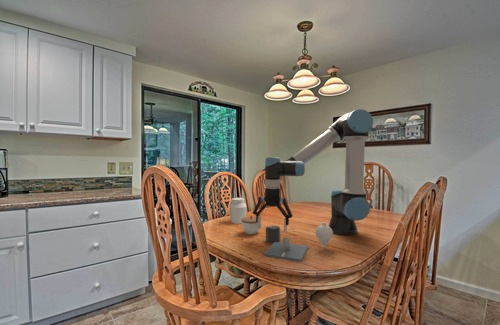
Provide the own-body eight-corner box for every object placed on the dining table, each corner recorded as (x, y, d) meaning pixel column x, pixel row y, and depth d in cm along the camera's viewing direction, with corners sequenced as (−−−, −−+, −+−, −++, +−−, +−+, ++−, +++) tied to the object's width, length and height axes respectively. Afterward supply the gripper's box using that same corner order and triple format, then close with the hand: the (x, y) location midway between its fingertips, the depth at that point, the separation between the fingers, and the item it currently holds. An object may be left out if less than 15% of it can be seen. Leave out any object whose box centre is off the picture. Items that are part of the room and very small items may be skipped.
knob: (281, 239, 124) (281, 225, 124) (277, 243, 118) (277, 229, 118) (268, 237, 127) (268, 224, 126) (264, 241, 120) (264, 227, 120)
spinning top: (323, 252, 106) (323, 225, 106) (312, 246, 113) (311, 221, 113) (336, 249, 109) (336, 223, 109) (325, 244, 116) (325, 219, 116)
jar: (247, 223, 155) (247, 199, 155) (233, 224, 152) (232, 200, 152) (243, 218, 166) (242, 197, 166) (229, 220, 163) (229, 197, 163)
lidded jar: (265, 232, 136) (264, 215, 135) (252, 237, 128) (251, 219, 128) (250, 228, 143) (250, 212, 143) (237, 233, 135) (237, 216, 135)
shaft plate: (308, 247, 112) (307, 234, 111) (301, 261, 97) (301, 247, 97) (274, 243, 118) (274, 231, 118) (263, 256, 103) (263, 242, 103)
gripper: (298, 188, 120) (298, 230, 121) (252, 185, 130) (251, 225, 130) (295, 190, 113) (295, 235, 114) (246, 187, 123) (246, 228, 123)
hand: (272, 229), depth 122 cm, fingers open, 13 cm apart
